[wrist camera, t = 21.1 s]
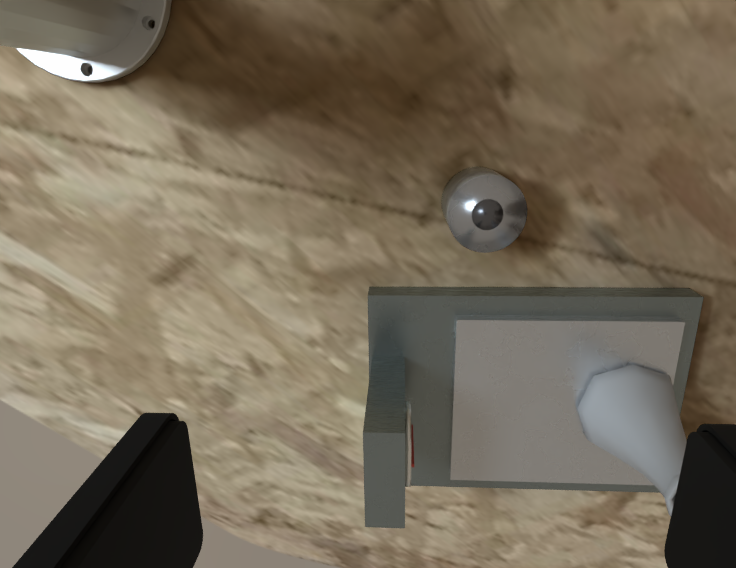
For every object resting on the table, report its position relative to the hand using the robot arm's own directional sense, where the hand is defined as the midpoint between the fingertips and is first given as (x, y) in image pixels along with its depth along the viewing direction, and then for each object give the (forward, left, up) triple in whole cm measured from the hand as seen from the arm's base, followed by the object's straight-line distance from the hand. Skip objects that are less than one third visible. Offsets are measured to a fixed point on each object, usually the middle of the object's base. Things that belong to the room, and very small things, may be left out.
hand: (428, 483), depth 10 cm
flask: (+15, +16, -28) cm, 35 cm away
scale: (+15, +9, -30) cm, 35 cm away
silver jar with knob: (0, +5, -30) cm, 31 cm away
